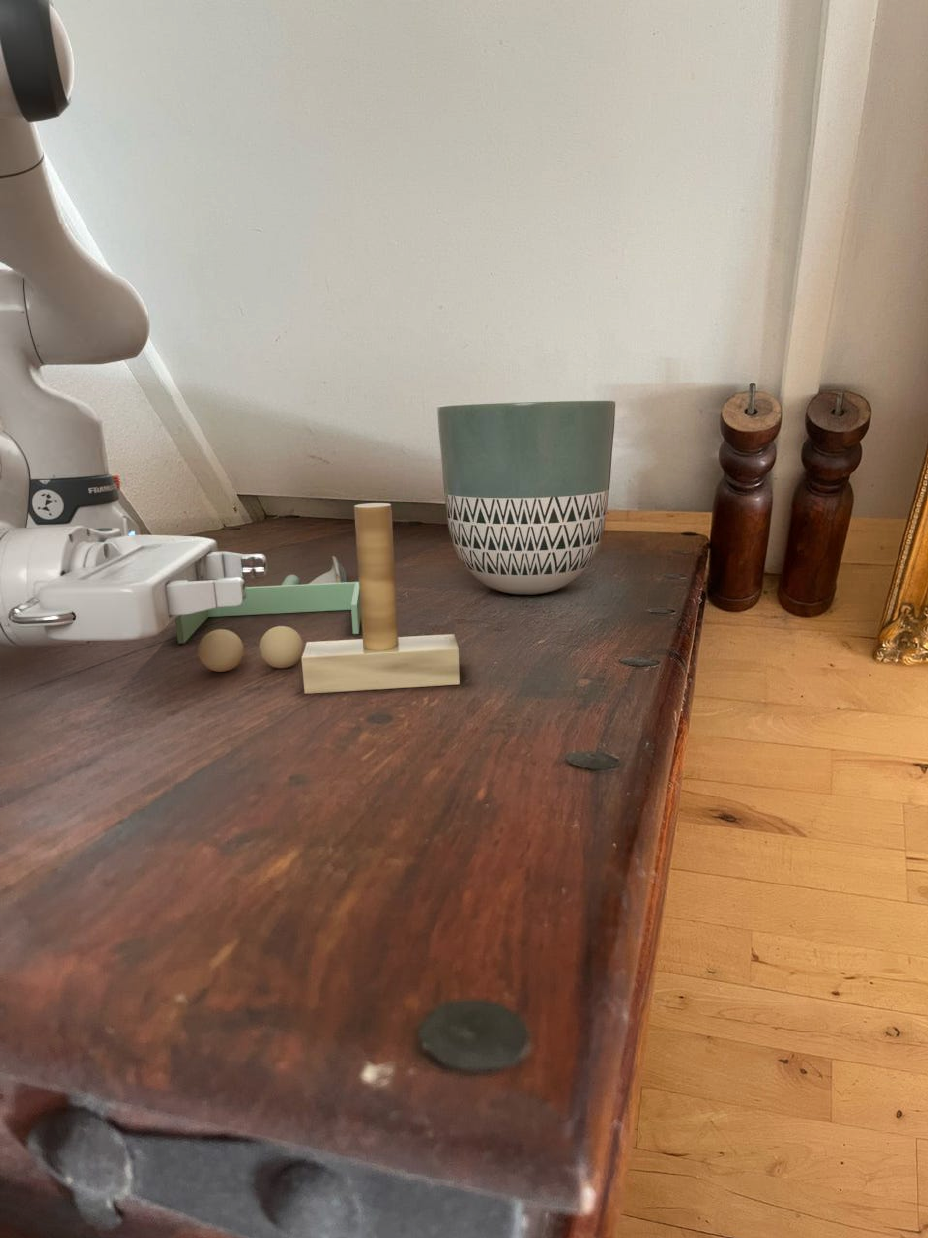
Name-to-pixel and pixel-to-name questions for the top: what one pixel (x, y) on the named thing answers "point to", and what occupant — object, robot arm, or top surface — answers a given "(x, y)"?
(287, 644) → the cork ball
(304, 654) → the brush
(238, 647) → the cork ball
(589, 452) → the planter
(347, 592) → the dustpan
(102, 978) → the top surface
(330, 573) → the ceramic fragment
